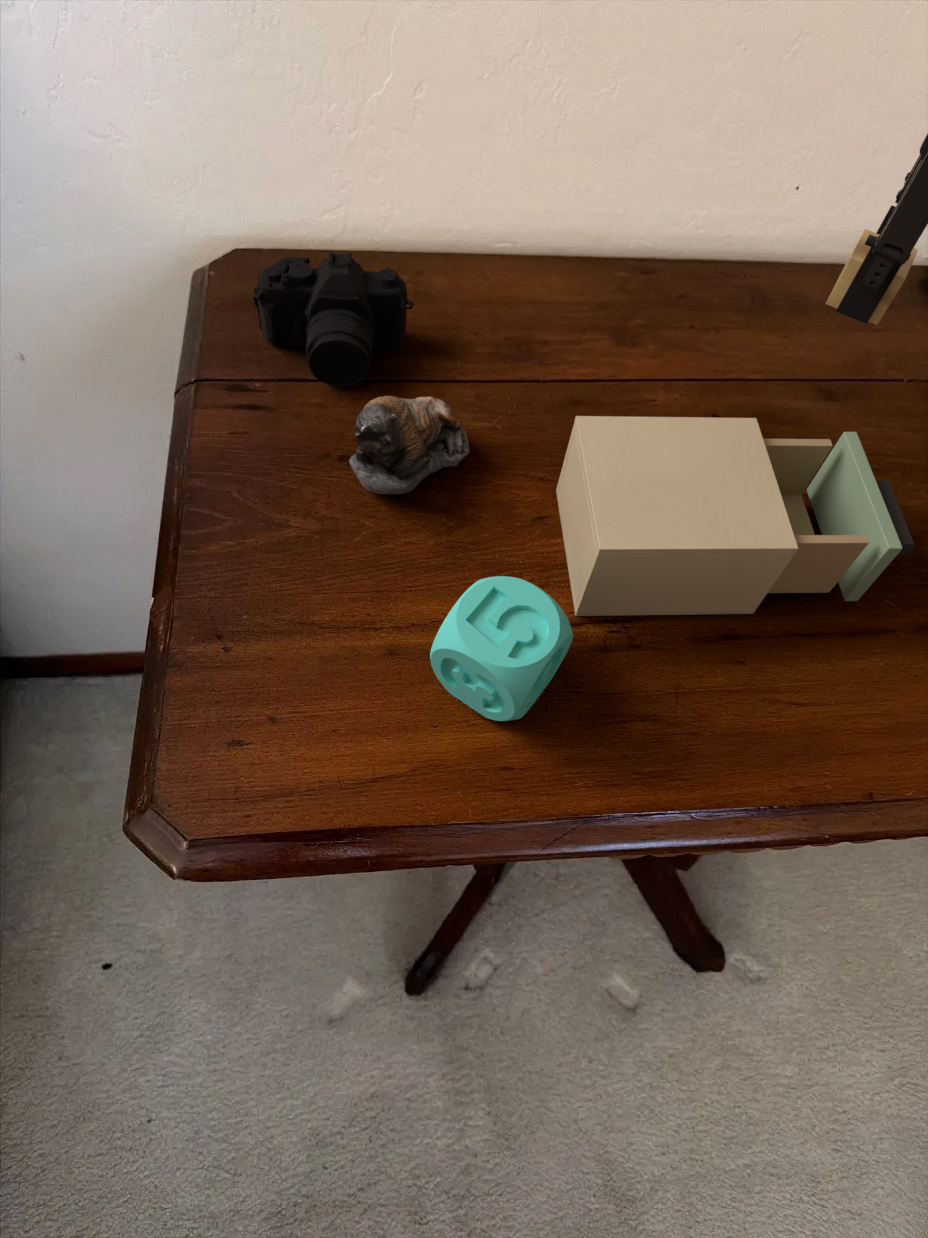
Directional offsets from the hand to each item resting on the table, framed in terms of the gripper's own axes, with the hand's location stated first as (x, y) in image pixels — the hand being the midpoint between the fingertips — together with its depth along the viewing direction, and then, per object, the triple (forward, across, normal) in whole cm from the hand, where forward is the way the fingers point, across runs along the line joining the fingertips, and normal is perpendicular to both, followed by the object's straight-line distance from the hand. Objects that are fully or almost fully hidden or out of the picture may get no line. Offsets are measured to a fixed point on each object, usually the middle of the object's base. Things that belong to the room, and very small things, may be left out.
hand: (860, 297), depth 75 cm
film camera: (+16, -17, +43) cm, 48 cm away
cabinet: (+15, -22, +6) cm, 28 cm away
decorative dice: (+16, -40, +12) cm, 45 cm away
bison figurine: (+16, -26, +29) cm, 42 cm away
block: (0, 0, 0) cm, 0 cm away
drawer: (+14, -16, -4) cm, 22 cm away
